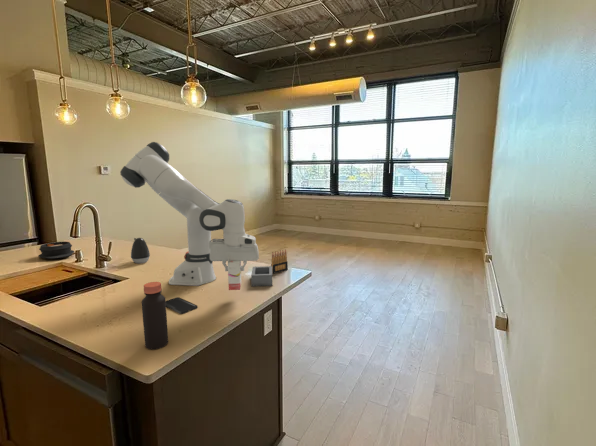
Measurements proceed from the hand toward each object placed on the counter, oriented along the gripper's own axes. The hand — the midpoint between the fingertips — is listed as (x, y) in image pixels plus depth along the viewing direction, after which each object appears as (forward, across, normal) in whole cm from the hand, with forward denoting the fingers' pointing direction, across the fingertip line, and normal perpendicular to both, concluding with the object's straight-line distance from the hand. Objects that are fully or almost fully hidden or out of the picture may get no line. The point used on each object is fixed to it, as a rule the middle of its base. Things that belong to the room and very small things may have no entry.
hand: (234, 270), depth 133 cm
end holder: (+13, +12, +22) cm, 28 cm away
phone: (+14, -22, -4) cm, 26 cm away
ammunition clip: (+13, +21, +37) cm, 45 cm away
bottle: (+14, -22, -33) cm, 42 cm away
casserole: (+15, -120, +82) cm, 146 cm away
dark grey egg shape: (+14, -62, +63) cm, 89 cm away
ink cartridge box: (+7, 0, 0) cm, 7 cm away
